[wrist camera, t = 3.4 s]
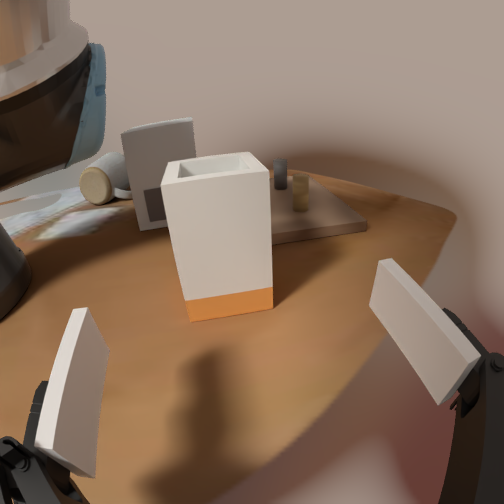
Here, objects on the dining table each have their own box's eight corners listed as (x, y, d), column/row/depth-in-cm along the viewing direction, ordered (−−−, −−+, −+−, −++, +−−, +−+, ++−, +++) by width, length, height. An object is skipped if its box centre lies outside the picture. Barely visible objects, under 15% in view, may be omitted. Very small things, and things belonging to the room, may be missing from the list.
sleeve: (190, 322, 20) (160, 185, 15) (188, 275, 25) (168, 162, 20) (273, 308, 21) (269, 170, 16) (255, 264, 26) (248, 151, 21)
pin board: (259, 246, 29) (256, 196, 26) (233, 189, 44) (230, 157, 41) (366, 230, 30) (370, 185, 28) (307, 182, 46) (307, 150, 43)
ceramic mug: (81, 208, 44) (71, 166, 40) (104, 191, 51) (97, 154, 47) (131, 205, 43) (122, 158, 39) (151, 188, 50) (145, 146, 46)
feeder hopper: (139, 231, 34) (120, 134, 27) (148, 207, 40) (134, 127, 34) (204, 221, 35) (192, 121, 29) (201, 198, 42) (192, 117, 35)
